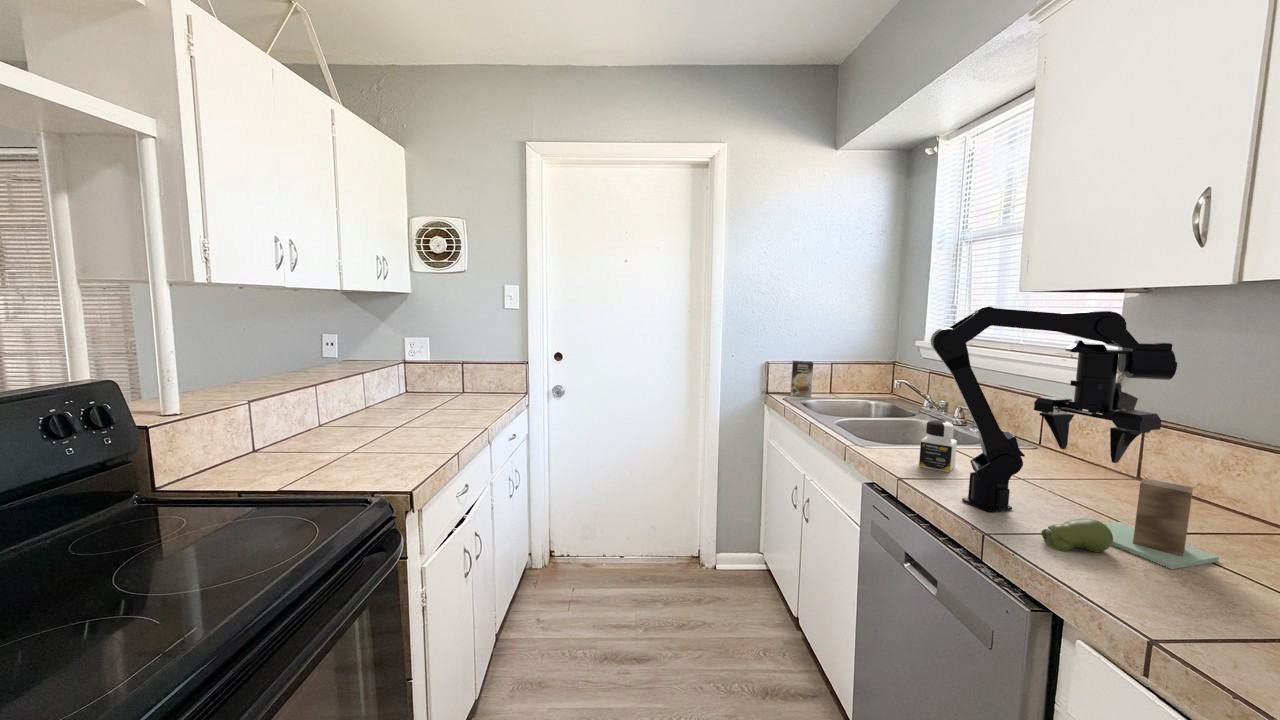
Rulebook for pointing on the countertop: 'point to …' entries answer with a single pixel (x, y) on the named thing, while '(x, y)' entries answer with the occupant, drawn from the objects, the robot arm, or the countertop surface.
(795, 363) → the coffee box
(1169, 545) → the block
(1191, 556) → the mat
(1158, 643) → the countertop surface
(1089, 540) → the pear
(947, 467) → the medicine bottle
